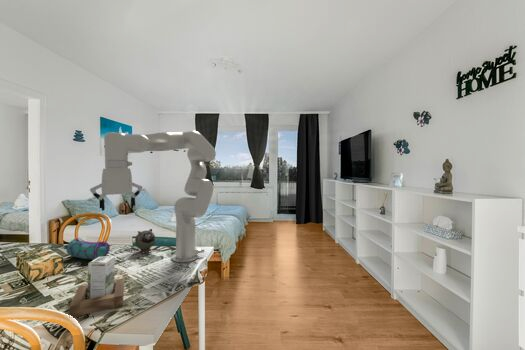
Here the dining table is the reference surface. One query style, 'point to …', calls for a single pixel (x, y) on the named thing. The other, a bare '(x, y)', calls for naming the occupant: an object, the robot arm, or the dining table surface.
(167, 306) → the dining table surface
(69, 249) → the pencil case
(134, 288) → the dining table surface
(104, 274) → the syrup box
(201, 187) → the robot arm
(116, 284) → the walnut collar
